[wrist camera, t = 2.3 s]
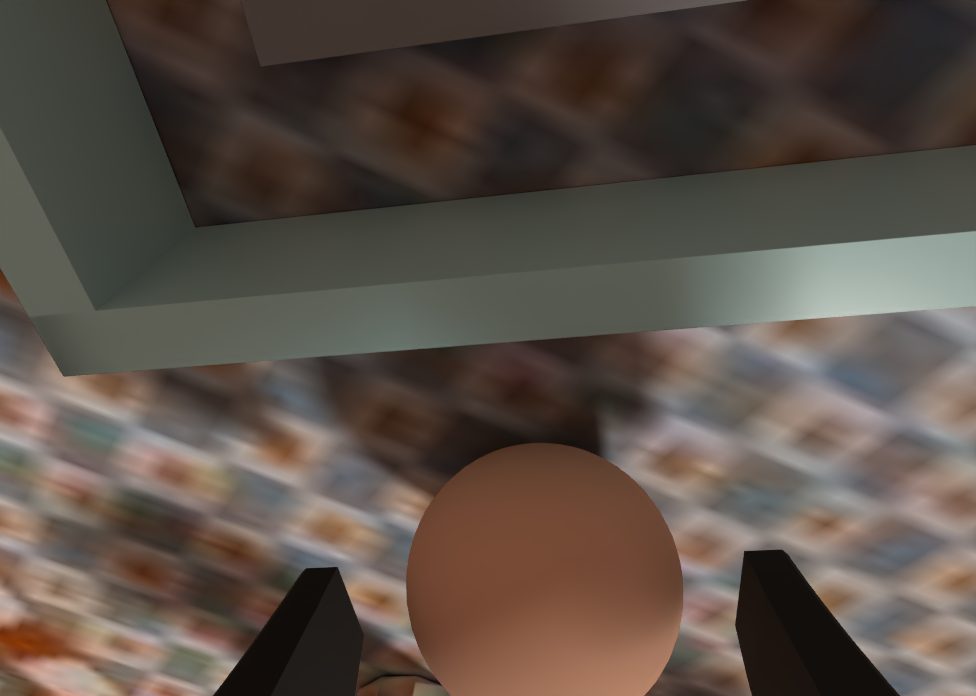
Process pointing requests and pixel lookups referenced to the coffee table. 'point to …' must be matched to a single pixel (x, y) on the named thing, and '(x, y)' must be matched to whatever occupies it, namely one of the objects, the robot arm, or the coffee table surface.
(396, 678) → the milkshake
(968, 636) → the coffee table surface
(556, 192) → the divider wall
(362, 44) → the tray
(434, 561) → the ball
